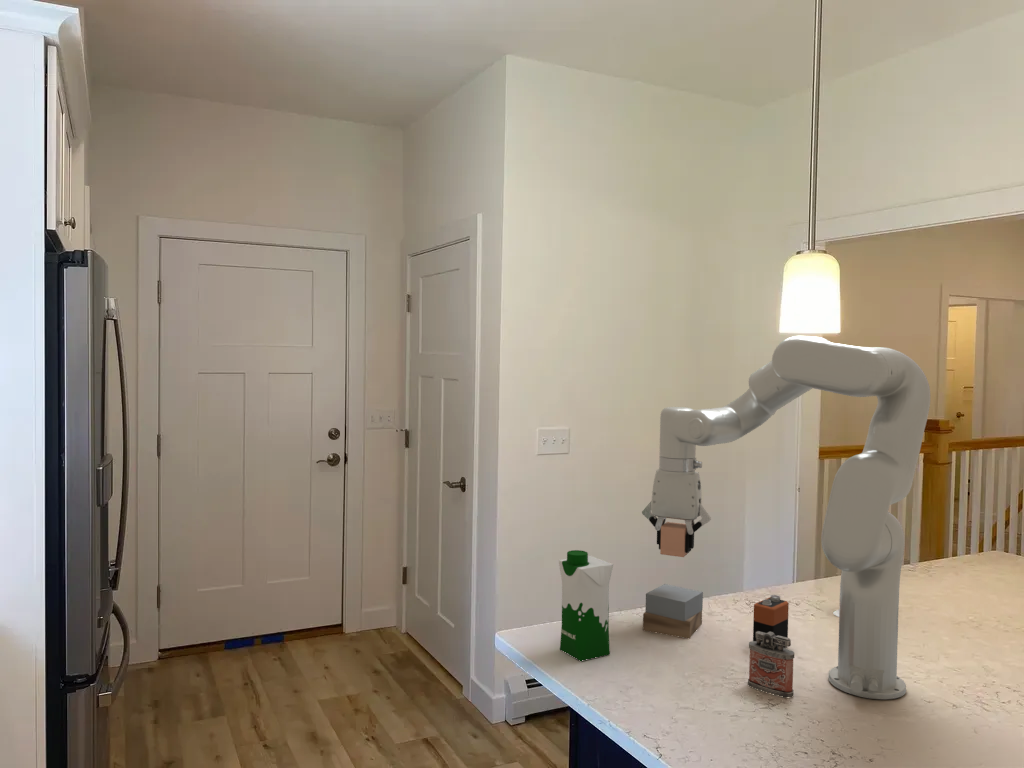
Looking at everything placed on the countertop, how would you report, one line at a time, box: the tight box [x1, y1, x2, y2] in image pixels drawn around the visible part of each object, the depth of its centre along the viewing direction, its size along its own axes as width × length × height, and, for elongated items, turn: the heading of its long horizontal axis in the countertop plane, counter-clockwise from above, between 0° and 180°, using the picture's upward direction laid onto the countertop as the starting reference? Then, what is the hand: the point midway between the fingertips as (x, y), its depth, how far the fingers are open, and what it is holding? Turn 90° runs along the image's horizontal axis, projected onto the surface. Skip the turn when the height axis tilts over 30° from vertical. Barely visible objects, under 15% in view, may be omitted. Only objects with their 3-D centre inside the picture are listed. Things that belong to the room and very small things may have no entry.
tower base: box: [642, 610, 703, 639], centre depth 168 cm, size 10×10×4 cm
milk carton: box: [558, 549, 614, 662], centre depth 153 cm, size 9×9×20 cm
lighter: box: [747, 631, 796, 698], centre depth 137 cm, size 8×3×10 cm, turn 47°
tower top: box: [644, 583, 704, 621], centre depth 168 cm, size 9×9×4 cm
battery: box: [752, 594, 790, 648], centre depth 157 cm, size 4×7×10 cm, turn 134°
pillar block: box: [659, 521, 689, 558], centre depth 167 cm, size 5×5×6 cm
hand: (675, 548), depth 167 cm, fingers closed on pillar block, 4 cm apart
